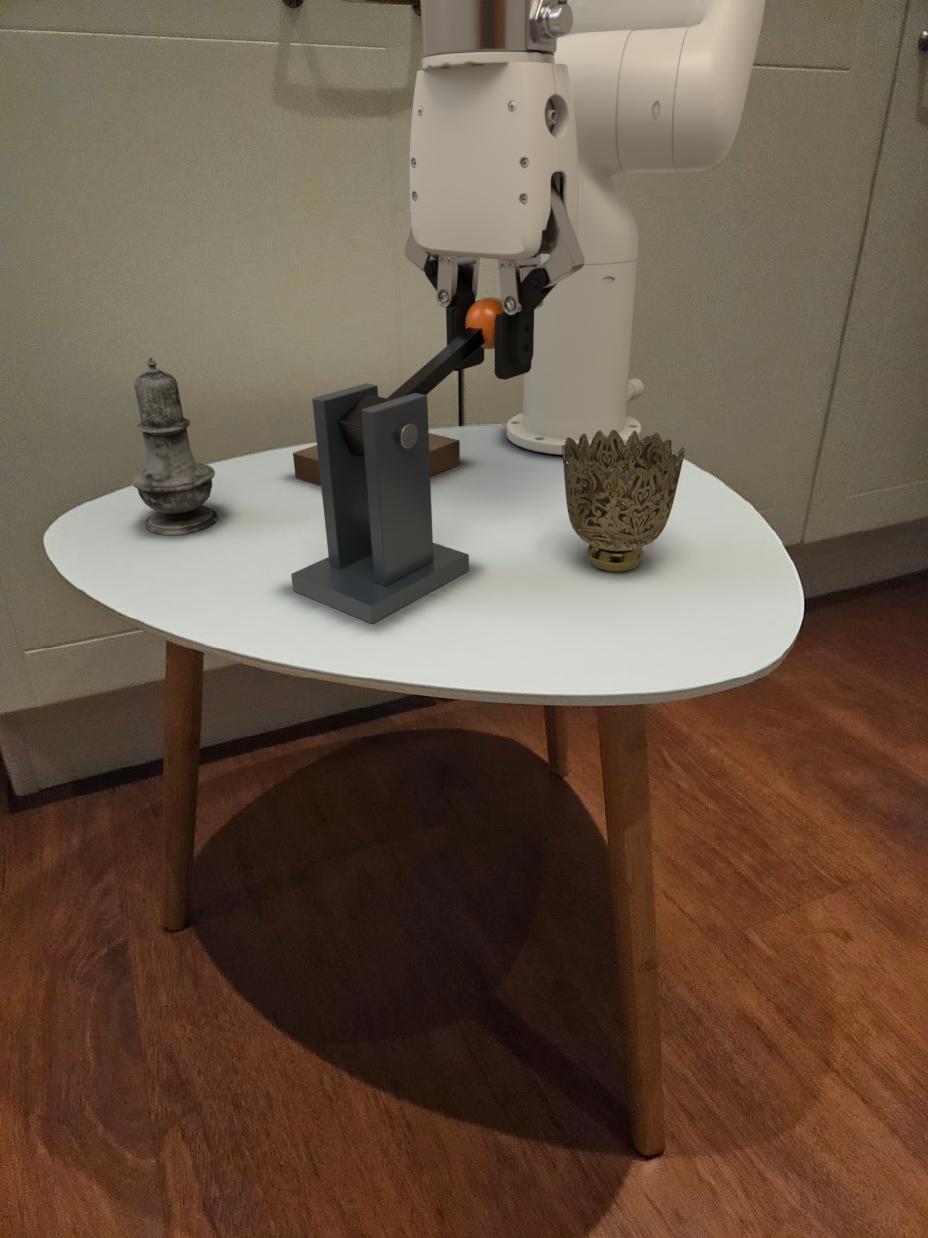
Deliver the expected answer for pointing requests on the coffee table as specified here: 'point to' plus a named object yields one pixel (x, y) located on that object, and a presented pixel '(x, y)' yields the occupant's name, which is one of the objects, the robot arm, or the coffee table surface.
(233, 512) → the coffee table surface
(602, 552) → the cup
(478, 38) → the robot arm
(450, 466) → the brown block
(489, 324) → the switch lever
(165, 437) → the salt shaker
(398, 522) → the switch bracket
